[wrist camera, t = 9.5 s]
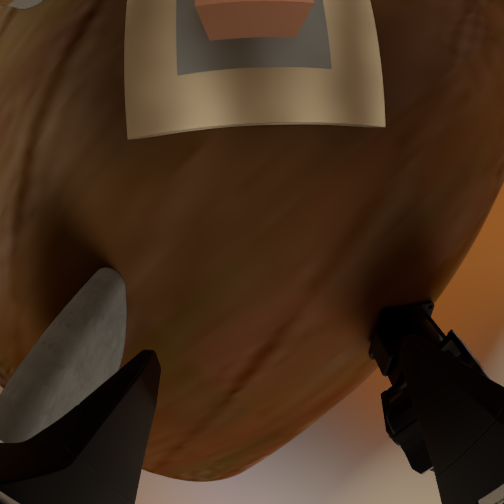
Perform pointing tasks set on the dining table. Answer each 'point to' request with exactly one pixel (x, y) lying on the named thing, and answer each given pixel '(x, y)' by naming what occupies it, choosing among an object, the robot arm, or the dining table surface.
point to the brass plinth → (250, 71)
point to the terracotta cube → (252, 18)
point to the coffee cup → (20, 3)
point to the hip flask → (67, 359)
